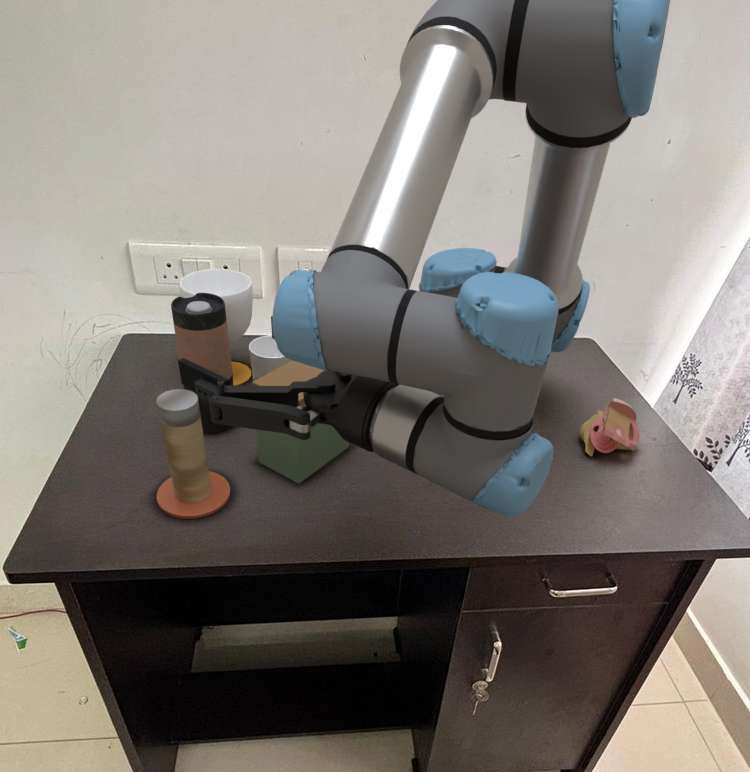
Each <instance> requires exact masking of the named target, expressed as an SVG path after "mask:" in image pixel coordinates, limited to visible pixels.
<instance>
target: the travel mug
mask: <svg viewBox="0 0 750 772" xmlns="http://www.w3.org/2000/svg"><path fill="white" fill-rule="evenodd" d="M170 309H171V316H172V323H173V329H174V336H175V343H176V349H177V354H178V360H180V359H182V358H185V359H187V360H189V361H191V362H193V363H195V364H197V365H200V366H202V367H204V368H206V369H208V370H210V371H212V372H214V373H216V374H218V375H221V376H223V377H225V378H227V379H229V382H230V385H233V372H232V363H231V361H232V355H231V347H230V343H229V336H228V327H227V319H226V309H225V303H224V300H223V299H222V298H221V297H219V296H217V295H214V294H210V293H197V294H196V295H195V296H193V297H189V298H183V297H181V295H179V296H177V297H175V298H174V299H173V300H172V301H171V303H170ZM182 386H183V389H185V390H190V391H192V392H194V393H195V394H196V391H195V390H193V389H191V388H189V387H187V386H185V385H183V384H182ZM196 395H197V394H196ZM197 396H198V395H197ZM232 398H234V397H232ZM198 402H199V409H200V415H201V422H202V429H203V434H204V433H205V434H218V433H223V432H225V431H228V430H229V429H231V428H232V427H233V426H228V425H221V424H215V423H213V422H212V420H211V413H210V405H209V402H208V401H206V400H204V399H203V398H200V397H199V396H198Z"/></svg>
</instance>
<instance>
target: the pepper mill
mask: <svg viewBox="0 0 750 772" xmlns="http://www.w3.org/2000/svg"><path fill="white" fill-rule="evenodd" d="M156 409H157V413H158V418H159V424H160V427H161V433H162V438H163V442H164V443H163V444H164V449H165V453H166V458H167V463H168V468H169V474H170V477H171V479H172V484H173V489H174V494H175V497H176V498H177V499H178V500H179V501H181V502H184V503H197V502H201V501H203V500H205V499H206V498H208V497H209V495H210V494H211V483H210V476H209V471H210V470H209V463H208V458H207V457H208V455H207V451H206V450H207V449H206V444H205V443H206V442H205V436H204V432H203V429H202V422H201V415H200V409H199V402H198V396H197V395H196V394H195V393H194V392H192V391H190V390H185V389H184V388H176V389H170V390H167V391H164V392H163V393H161V394H159V395H158V396H157V398H156Z"/></svg>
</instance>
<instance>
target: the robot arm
mask: <svg viewBox="0 0 750 772" xmlns="http://www.w3.org/2000/svg"><path fill="white" fill-rule="evenodd" d="M670 3H671V0H436V1H435V2H434V3H433V4H432V5H431V6H430V7H429V8H428V10H427V11H426V12H425V13H424V14H423V15H422V17H421V18H420V20H419V21H418V23H417V24H416V25H415V27H414V29H413V30H412V33H411V34H410V36H409V39H408V41H407V43H406V45H405V48H404V50H403V52H402V55H401V58H400V63H399V80H400V86H399V88H398V91H397V93H396V95H395V97H394V100H393V103H392V105H391V107H390V110H389V112H388V114H387V117H386V119H385V121H384V124H383V126H382V128H381V131H380V133H379V136H378V138H377V140H376V142H375V144H374V147H373V150H372V152H371V154H370V156H369V159H368V161H367V163H366V166H365V168H364V171H363V173H362V175H361V178H360V180H359V182H358V185H357V187H356V189H355V191H354V194H353V197H352V199H351V201H350V204H349V206H348V208H347V211H346V213H345V215H344V218H343V220H342V223H341V225H340V227H339V230H338V232H337V235H336V237H335V239H334V241H333V244H332V246H331V248H330V251H329V252H328V256H327V258H326V260H325V263H324V264H323V266H322V268H321V270H320V271H317V270H316V269H312V268H310V269H309V270H303V269H294V270H293V271H291V272H290V273H289V275H287V276H285V277H284V278H283V279H282V281H281V283H280V284H279V287H278V289H277V291H276V295H275V299H274V301H273V308H272V315H271V316H270V325H271V335H272V338H273V339H274V340H275V341H276V343H277V348H278V349H279V351H280V353H281V354H282V355H283V356H284V357H286V358H288V359H290V360H293V361H296V362H299V363H302V364H306V365H309V366H312V367H315V368H318V369H322V370H324V371H323V372H321V373H320V374H319V375H318V376H317V377H315V378H312V379H309V380H308V381H295V382H292V383H291V384H290V385H289V386H252V385H237V386H234V385H230V382H229V379H227V378H225V377H223V376H221V375H218V374H216V373H214V372H212V371H210V370H208V369H206V368H204V367H202V366H200V365H197V364H195V363H193V362H191V361H189V360H187V359H185V358H182V359H180V360H179V359H178V360H177V365H178V370H179V375H180V381H181V385H182V386H183V385H185V386H187V387H189V388H191V389H193V390H195V391H196V394H197V395H198V396H199V397H200V398H203V399H204V400H206V401H208V402H209V405H210V413H211V420H212V422H213V423H215V424H221V425H228V426H232V427H235V428H243V429H249V430H250V429H251V430H255V431H256V430H263V431H271V432H278V433H285V434H288V435H291V436H293V437H296V438H298V439H301V440H307V439H309V438H310V430H311V428H312V427H314V426H315V425H316V424H317V423H320V424H327V425H331V426H333V427H334V429H335V430H336V431H337V432H338V434H339V435H340V436H341V437H342V438H343V439H344V440H346V441H348V442H349V444H352V445H354V446H356V447H359V448H360V449H362V450H365V451H366V452H369V453H374V454H375V455H377V456H378V457H379V458H382V459H384V460H386V461H388V462H390V463H392V464H395V465H397V466H399V467H401V468H403V469H405V470H407V471H410V472H411V473H413V474H415V475H418V476H420V477H421V478H423V479H425V480H427V481H429V482H432V484H433V483H434V484H436V485H437V486H440V487H441V488H443V489H445V490H447V491H449V492H452V493H453V494H455V495H457V496H459V497H461V498H463V499H464V500H467V501H469V502H470V503H471V504H472V505H477V506H480V507H482V508H485V509H488V510H490V511H492V512H495V513H497V514H501V515H503V516H506V517H517V516H520V515H522V514H524V513H525V512H526V511H527V510H528V509H529V508H530V506H532V504H533V503H534V501H535V500H536V499H537V497H538V496H539V494H540V492H541V490H542V489H543V486H544V484H545V482H546V480H547V478H548V475H549V472H550V469H551V466H552V463H553V461H554V460H553V459H554V457H553V454H554V446H553V444H552V443H551V441H550V440H548V439H547V438H545V437H542V436H541V435H539V433H538V432H535V431H532V428H533V424H534V414H535V410H536V407H537V403H538V399H539V396H540V392H541V388H542V385H543V382H544V378H545V377H544V376H545V373H546V369H547V367H548V363H549V361H550V358H551V352H553V353H561V352H564V351H566V350H567V349H568V348H569V347H570V345H571V344H572V342H573V340H574V339H575V336H576V335H577V332H578V330H579V327H580V323H581V321H582V320H583V317H584V314H585V311H586V308H587V305H588V301H589V297H590V293H591V292H590V291H591V285H590V283H589V281H586V280H584V279H583V273H582V270H581V268H580V266H579V265H578V264H579V263H578V262H579V259H580V255H581V252H582V248H583V245H584V241H585V237H586V234H587V230H588V226H589V223H590V219H591V215H592V212H593V209H594V204H595V201H596V198H597V193H598V190H599V186H600V184H601V183H600V182H601V180H602V175H603V171H604V168H605V164H606V162H607V157H608V154H609V150H610V146H611V143H613V142H615V141H616V140H618V139H619V138H621V136H623V134H625V132H627V130H628V128H629V126H630V125H631V122H632V119H636V118H638V117H643V116H645V115H647V114H648V112H649V111H650V109H651V105H652V102H653V101H652V100H653V96H654V92H655V86H656V81H657V76H658V71H659V64H660V61H661V53H662V50H663V49H662V48H663V45H664V40H665V39H664V38H665V33H666V28H667V22H668V16H669V11H670ZM489 100H502V101H506V102H514V103H521V104H526V105H525V122H526V124H527V127H528V129H529V130H530V131H531V133H532V134H533V135H534V136H535V137H534V144H533V148H532V150H533V151H532V157H531V164H530V171H529V177H528V185H527V191H526V198H525V204H524V210H523V217H522V225H521V232H520V239H519V244H518V251H517V256H516V257H514V259H513V260H512V261H510V263H509V265H508V266H500V265H497V263H498V261H497V258H496V255H495V254H493V253H492V252H491V251H486V250H485V249H481V248H474V247H457V248H451V249H450V248H449V249H446V250H441V251H438V252H436V253H434V254H432V255H431V256H429V257H428V258H427V259H426V260H425V262H424V263H423V266H422V271H421V277H420V282H419V283H418V289H419V290H416V289H411V286H412V283H413V280H414V277H415V274H416V271H417V269H418V266H419V264H420V260H421V258H422V256H423V252H424V250H425V247H426V244H427V241H428V239H429V236H430V233H431V231H432V227H433V224H434V222H435V220H436V216H437V214H438V211H439V209H440V205H441V203H442V200H443V197H444V194H445V191H446V189H447V186H448V184H449V181H450V179H451V175H452V174H453V173H452V172H453V171H454V170H453V169H454V167H455V164H456V162H457V159H458V156H459V154H460V151H461V149H462V144H463V142H464V139H465V137H466V134H467V131H468V128H469V126H470V124H471V121H472V119H473V118H475V117H476V116H478V115H479V114H480V113H481V112H482V111H483V110H484V109H485V107H486V105H487V104H488V102H489ZM301 392H303V396H304V403H305V405H306V407H302V406H299V397H298V394H299V393H301ZM232 397H234V398H232Z"/></svg>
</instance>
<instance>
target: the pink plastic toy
mask: <svg viewBox="0 0 750 772" xmlns="http://www.w3.org/2000/svg"><path fill="white" fill-rule="evenodd" d="M579 433H580V438H581V440H582V441H583V442H584V445H585V453H587V455H588V456H590V457H593V455H594V453H595V450H597V451H598V452H600V453H603V454H608V453H611V452H613V451H615V450H627V451H628V450H629V451H632V452H633V451H635V450H636V449H637V447H638V445H639V441H640V427H639V425H638V422H637V413H636V411H635V409H634V408H633V407H632V406H631V405H630V404H629V403H627V402H626V401H624V400H623V399H619V398H616V397H614V398H612V400H610V401H609V402H608V403H607V404H606V406H605V409H604V411H603V410H600V409H598V410H597V411H596V413H594V414H592V416H591V418H590V419H588V420H586V421H585V422H584V423H583V424H582V425H581V427H580V431H579Z"/></svg>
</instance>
